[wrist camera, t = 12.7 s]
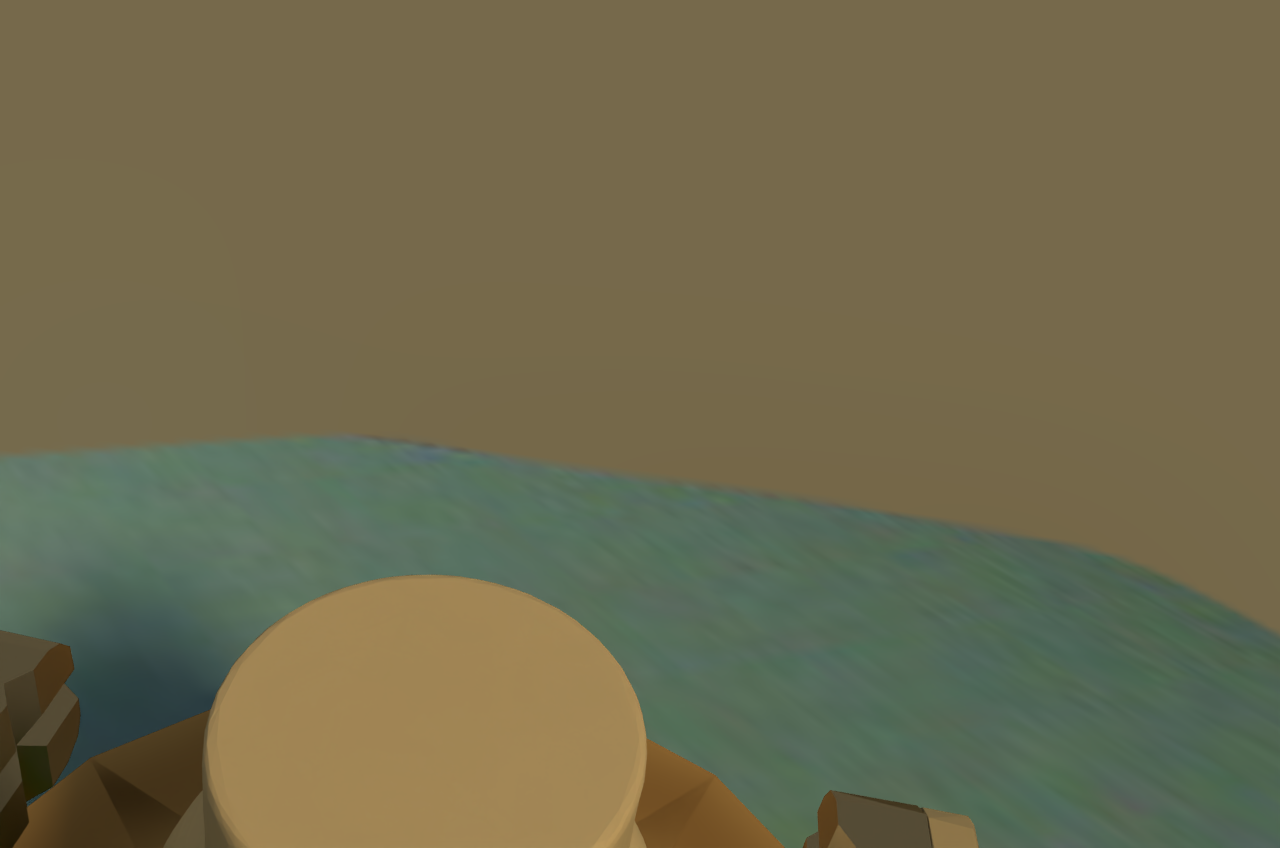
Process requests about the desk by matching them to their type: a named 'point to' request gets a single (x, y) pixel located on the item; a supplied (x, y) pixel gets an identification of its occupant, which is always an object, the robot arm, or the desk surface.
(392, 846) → the supplement bottle
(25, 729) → the robot arm
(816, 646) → the desk surface
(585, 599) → the desk surface
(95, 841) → the plain brown donut
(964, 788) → the desk surface
